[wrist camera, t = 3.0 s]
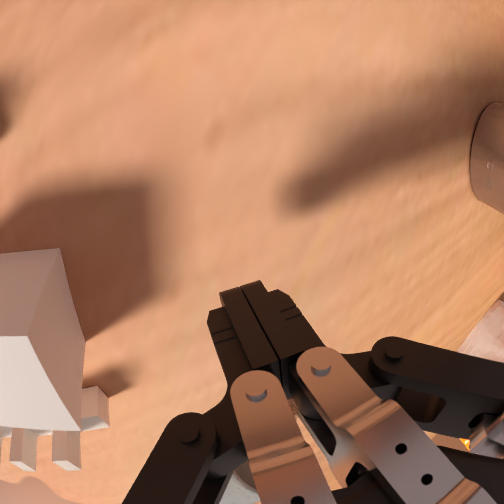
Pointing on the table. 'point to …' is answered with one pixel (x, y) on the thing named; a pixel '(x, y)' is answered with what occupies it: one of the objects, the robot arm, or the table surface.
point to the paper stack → (487, 335)
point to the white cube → (39, 343)
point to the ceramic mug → (241, 487)
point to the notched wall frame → (59, 435)
